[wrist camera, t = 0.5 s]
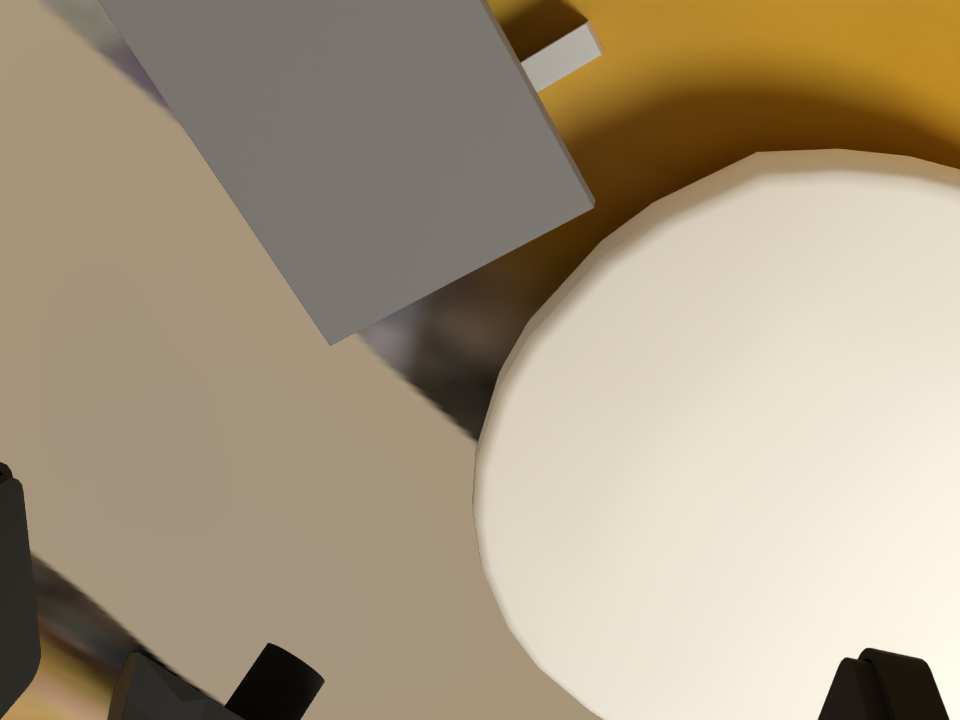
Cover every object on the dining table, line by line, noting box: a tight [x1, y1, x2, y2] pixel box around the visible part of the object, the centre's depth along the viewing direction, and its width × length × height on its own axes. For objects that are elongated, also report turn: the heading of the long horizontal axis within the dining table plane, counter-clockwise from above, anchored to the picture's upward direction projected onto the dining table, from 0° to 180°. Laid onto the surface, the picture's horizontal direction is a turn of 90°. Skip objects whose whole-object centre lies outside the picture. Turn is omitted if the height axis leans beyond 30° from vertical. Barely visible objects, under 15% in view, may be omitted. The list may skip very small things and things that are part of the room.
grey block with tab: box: [98, 0, 604, 346], centre depth 32 cm, size 13×19×6 cm
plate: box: [473, 149, 960, 720], centre depth 37 cm, size 28×6×27 cm
